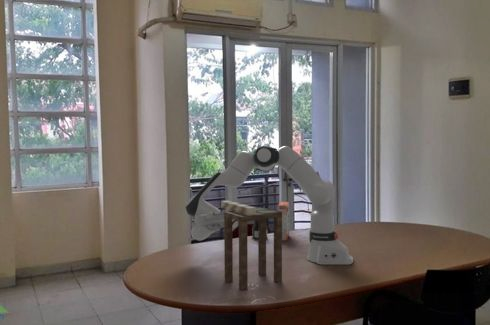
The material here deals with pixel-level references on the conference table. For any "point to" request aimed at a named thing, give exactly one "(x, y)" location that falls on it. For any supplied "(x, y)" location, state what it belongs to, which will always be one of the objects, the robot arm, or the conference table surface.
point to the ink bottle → (256, 230)
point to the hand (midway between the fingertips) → (222, 212)
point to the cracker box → (284, 219)
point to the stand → (261, 217)
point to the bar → (238, 208)
